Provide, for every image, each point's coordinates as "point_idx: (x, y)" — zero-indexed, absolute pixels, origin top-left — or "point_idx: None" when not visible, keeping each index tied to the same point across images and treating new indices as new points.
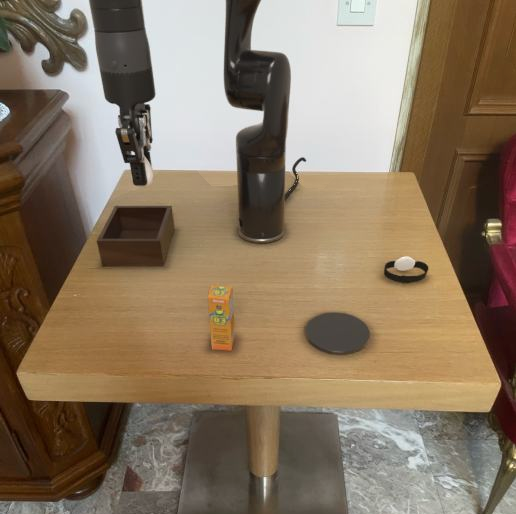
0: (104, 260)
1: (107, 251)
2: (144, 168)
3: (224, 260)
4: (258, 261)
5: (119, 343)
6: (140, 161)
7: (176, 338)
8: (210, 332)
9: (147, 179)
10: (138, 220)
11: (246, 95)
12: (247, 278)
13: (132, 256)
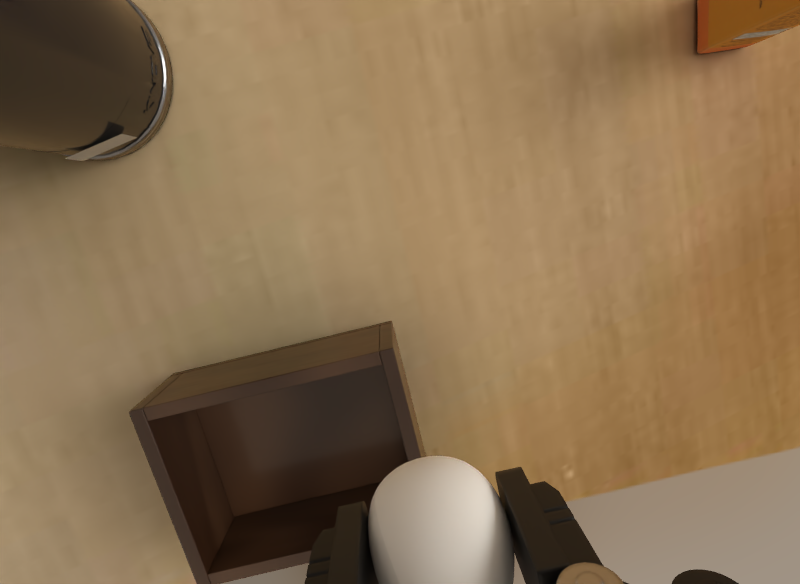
0: None
1: None
2: (549, 533)
3: (310, 152)
4: (284, 34)
5: (740, 287)
6: (708, 580)
7: (708, 157)
8: (795, 26)
9: (486, 481)
10: (204, 488)
11: None
12: (395, 44)
13: (413, 413)
